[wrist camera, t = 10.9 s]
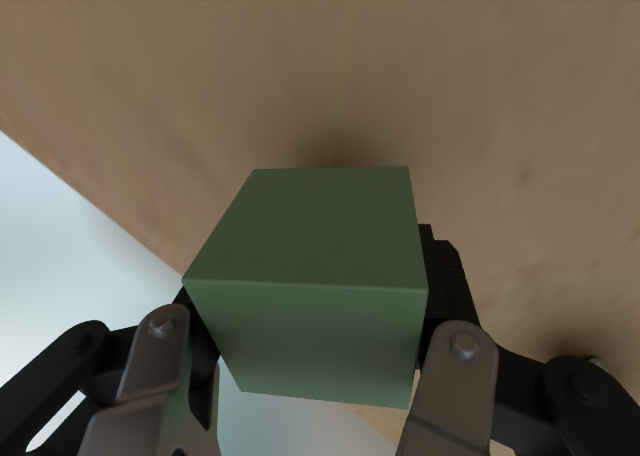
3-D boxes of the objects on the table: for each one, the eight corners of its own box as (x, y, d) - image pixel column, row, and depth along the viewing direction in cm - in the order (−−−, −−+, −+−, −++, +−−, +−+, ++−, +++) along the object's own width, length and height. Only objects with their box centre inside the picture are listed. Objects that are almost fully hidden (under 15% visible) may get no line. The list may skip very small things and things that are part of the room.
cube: (253, 168, 10) (178, 279, 6) (408, 164, 9) (430, 290, 6) (279, 273, 13) (239, 392, 9) (399, 278, 12) (408, 410, 9)
